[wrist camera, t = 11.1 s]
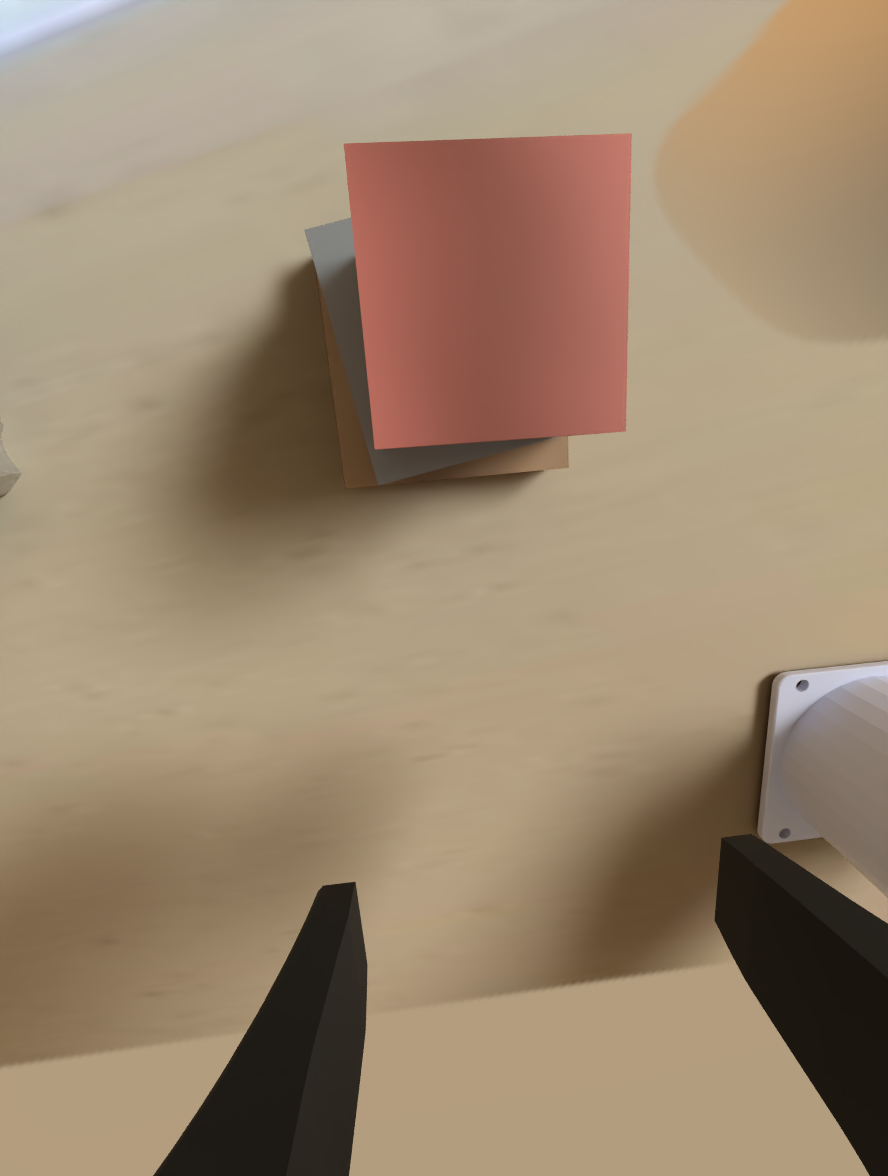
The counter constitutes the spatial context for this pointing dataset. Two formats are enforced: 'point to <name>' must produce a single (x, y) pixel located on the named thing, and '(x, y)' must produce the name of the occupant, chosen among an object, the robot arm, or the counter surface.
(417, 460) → the slate block
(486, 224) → the cube
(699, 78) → the counter surface
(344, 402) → the walnut block
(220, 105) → the counter surface
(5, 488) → the egg carton
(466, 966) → the counter surface
